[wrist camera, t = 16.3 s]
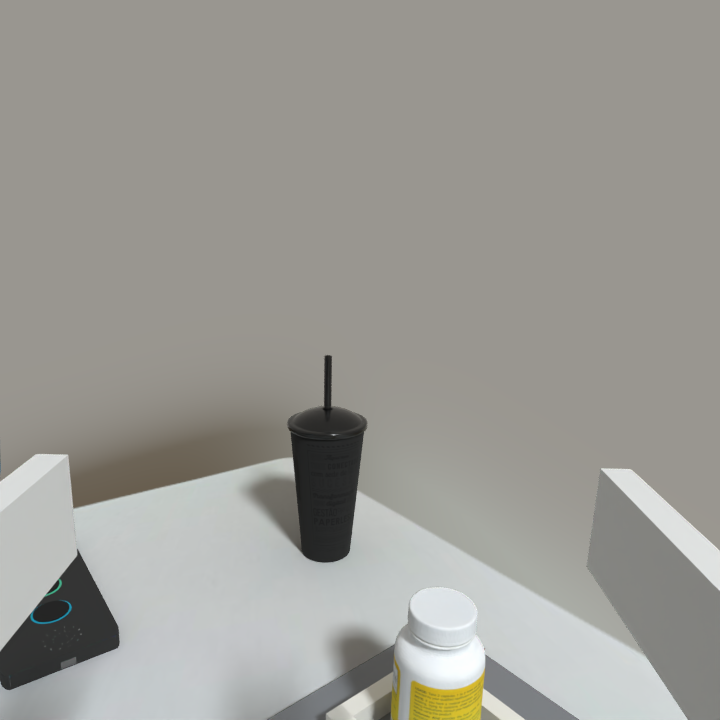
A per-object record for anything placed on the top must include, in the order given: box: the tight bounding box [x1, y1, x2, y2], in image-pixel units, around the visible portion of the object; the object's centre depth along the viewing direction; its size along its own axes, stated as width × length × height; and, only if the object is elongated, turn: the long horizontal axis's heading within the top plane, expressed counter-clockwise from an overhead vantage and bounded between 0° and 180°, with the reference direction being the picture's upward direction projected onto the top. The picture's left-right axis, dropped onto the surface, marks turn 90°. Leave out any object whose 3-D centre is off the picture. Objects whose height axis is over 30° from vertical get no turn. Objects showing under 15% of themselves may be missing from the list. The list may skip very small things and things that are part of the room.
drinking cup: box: [287, 355, 367, 562], centre depth 57 cm, size 8×8×20 cm
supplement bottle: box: [391, 587, 485, 720], centre depth 35 cm, size 5×5×10 cm
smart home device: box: [0, 549, 119, 690], centre depth 51 cm, size 8×2×20 cm
